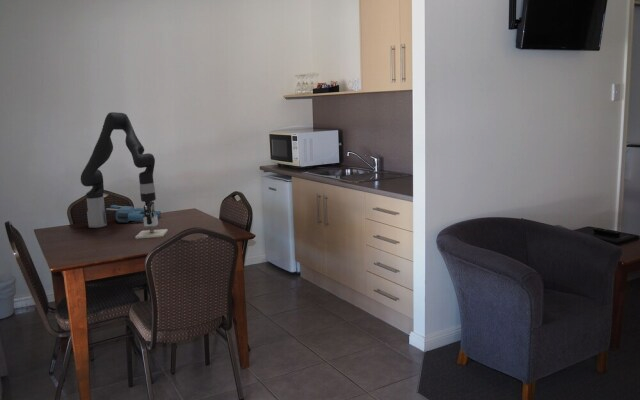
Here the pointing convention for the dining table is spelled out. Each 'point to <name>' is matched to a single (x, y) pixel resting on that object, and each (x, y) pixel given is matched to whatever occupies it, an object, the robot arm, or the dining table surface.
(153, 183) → the robot arm
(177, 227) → the dining table surface
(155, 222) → the collar
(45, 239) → the dining table surface
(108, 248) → the dining table surface
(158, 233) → the post
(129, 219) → the toy
